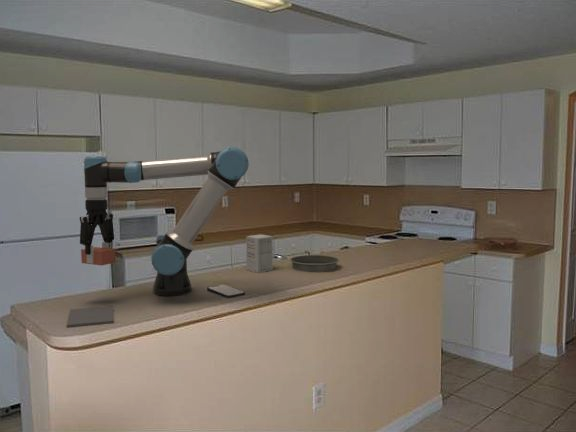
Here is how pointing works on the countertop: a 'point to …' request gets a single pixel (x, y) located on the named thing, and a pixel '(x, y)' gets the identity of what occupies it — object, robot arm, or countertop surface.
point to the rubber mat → (90, 316)
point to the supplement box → (259, 253)
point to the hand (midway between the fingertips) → (98, 261)
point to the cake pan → (314, 263)
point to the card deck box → (100, 256)
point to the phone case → (225, 291)
